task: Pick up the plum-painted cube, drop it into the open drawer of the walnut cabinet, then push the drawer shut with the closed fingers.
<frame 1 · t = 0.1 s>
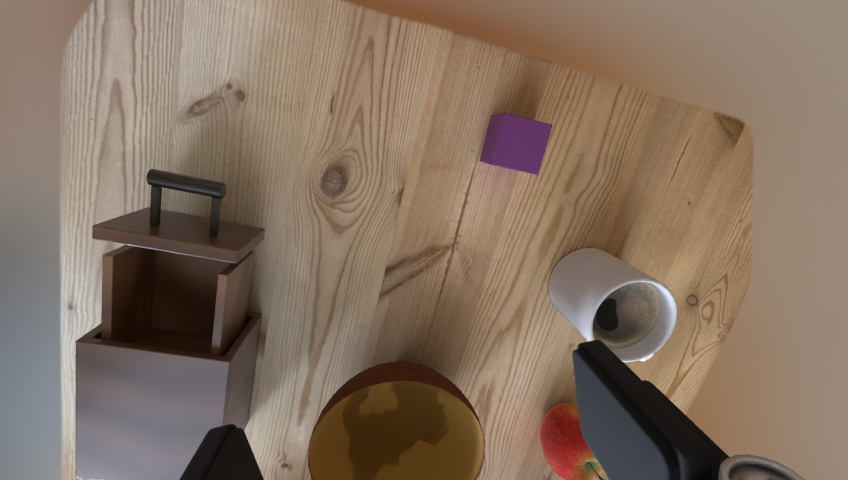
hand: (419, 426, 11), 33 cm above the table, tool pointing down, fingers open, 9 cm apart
cabinet: (198, 362, 45), on the table
bowl: (395, 391, 49), on the table
cube: (506, 143, 42), on the table
drawer: (186, 270, 38), point 5 cm above the table, slide at 9.0 cm
mug: (584, 289, 48), on the table
apple: (558, 414, 52), on the table
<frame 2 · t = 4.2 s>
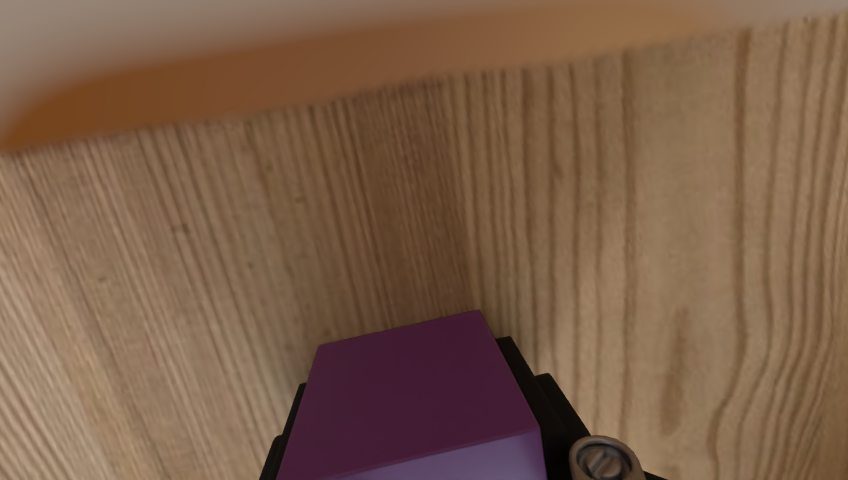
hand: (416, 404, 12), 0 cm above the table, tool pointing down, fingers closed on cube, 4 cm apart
cube: (415, 395, 12), on the table, touching gripper
when the fingers open (9 cm above the table, at t = 11.9 s): cube drops 7 cm, resting on drawer.
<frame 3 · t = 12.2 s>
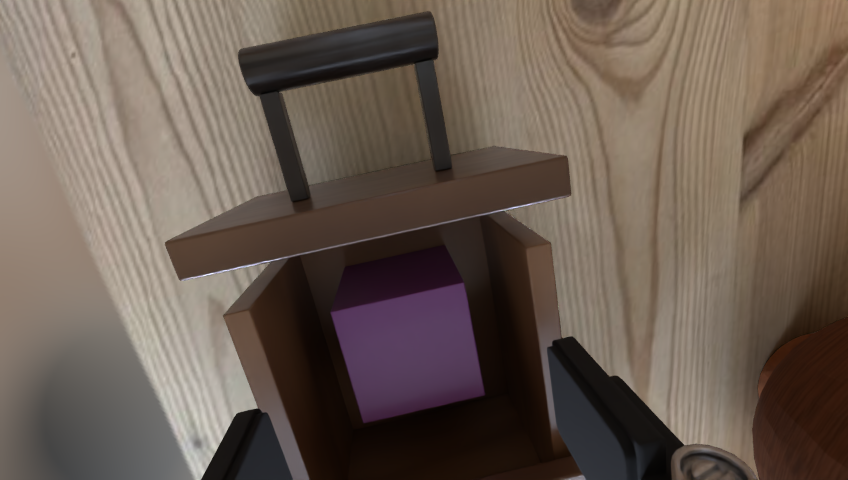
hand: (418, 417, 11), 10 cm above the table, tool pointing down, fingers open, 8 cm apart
cabinet: (443, 453, 24), on the table
bowl: (799, 374, 25), on the table
cube: (405, 301, 19), point 2 cm above the table, touching drawer
drawer: (398, 286, 16), point 5 cm above the table, slide at 9.0 cm, touching cube
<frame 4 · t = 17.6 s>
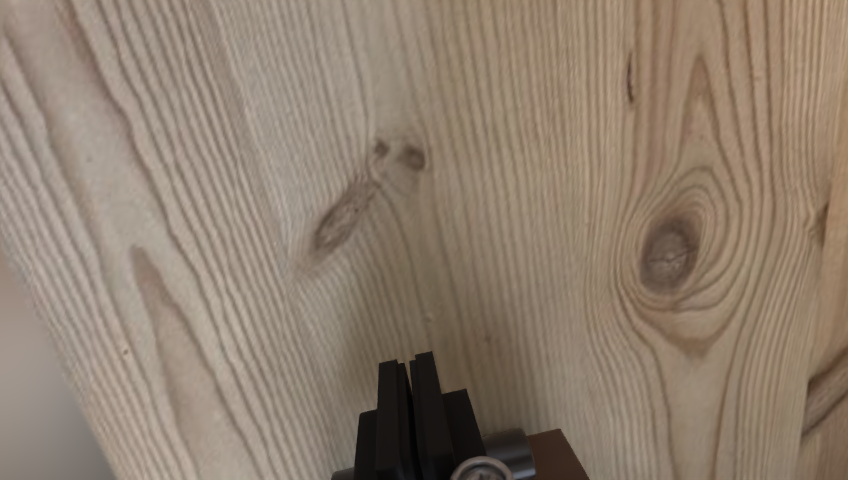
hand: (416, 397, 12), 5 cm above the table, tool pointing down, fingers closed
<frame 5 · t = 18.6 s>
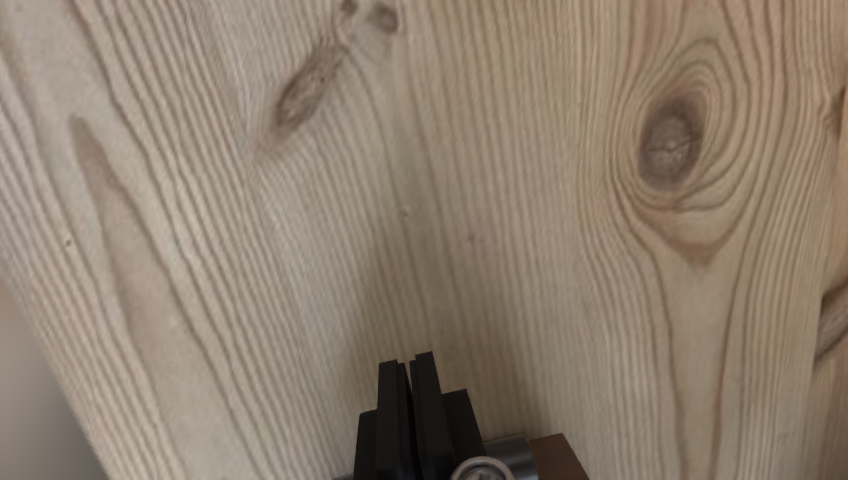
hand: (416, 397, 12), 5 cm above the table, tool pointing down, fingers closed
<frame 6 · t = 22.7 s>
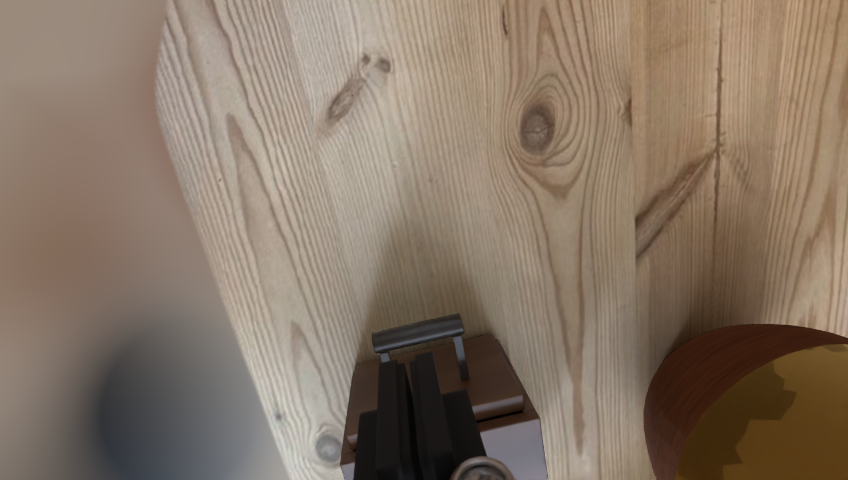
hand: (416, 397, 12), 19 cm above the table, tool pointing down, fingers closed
cabinet: (441, 424, 35), on the table
bowl: (687, 371, 36), on the table
drawer: (439, 425, 30), point 5 cm above the table, slide at 0.0 cm, touching cabinet, cube
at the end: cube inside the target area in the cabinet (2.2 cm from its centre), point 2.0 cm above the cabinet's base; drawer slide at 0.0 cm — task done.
